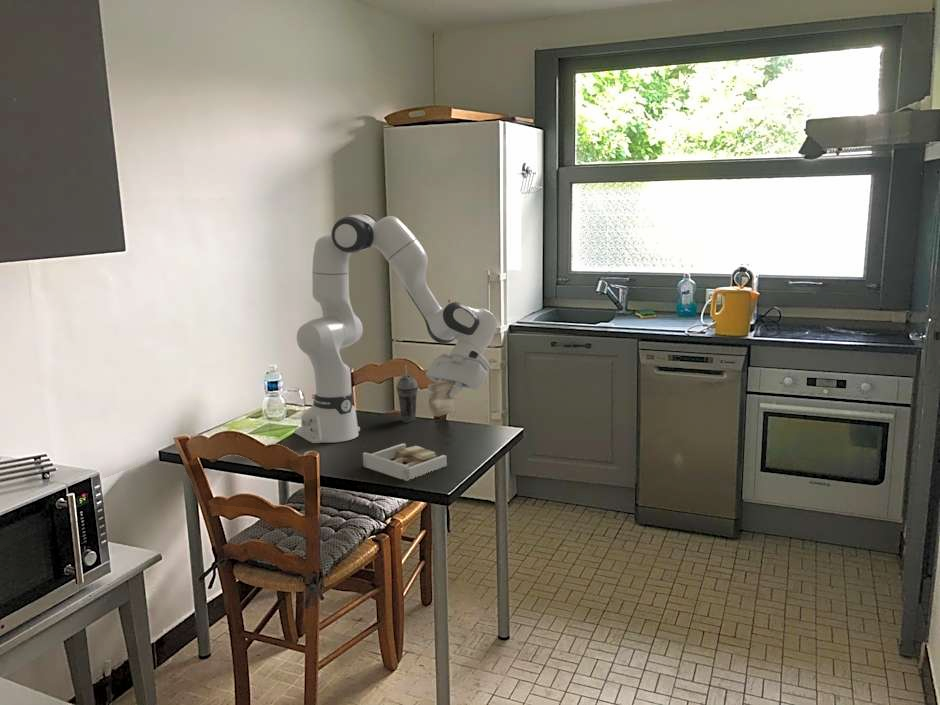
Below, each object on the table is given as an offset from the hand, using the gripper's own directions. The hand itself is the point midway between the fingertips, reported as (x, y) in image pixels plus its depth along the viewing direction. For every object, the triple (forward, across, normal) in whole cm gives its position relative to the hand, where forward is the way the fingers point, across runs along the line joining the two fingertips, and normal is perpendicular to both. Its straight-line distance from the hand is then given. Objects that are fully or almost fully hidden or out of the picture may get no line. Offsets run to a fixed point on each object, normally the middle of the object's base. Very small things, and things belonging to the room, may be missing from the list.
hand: (443, 395), depth 230 cm
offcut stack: (+20, 0, +4) cm, 21 cm away
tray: (+24, 0, +1) cm, 24 cm away
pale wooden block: (+4, 0, +3) cm, 5 cm away
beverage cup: (+1, -33, +24) cm, 41 cm away
